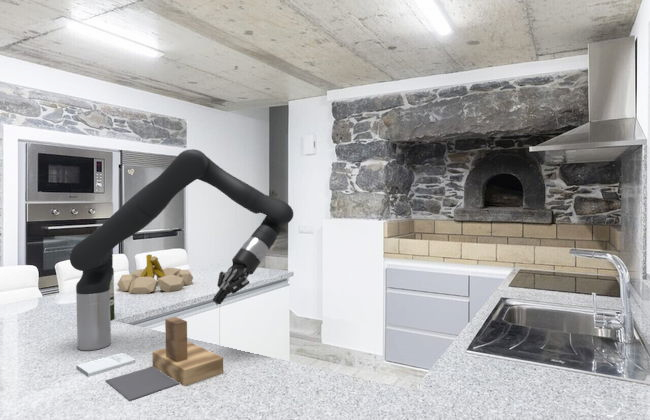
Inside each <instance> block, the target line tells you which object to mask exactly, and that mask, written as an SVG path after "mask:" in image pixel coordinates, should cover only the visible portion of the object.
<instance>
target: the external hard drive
mask: <svg viewBox="0 0 650 420" xmlns="http://www.w3.org/2000/svg"><path fill="white" fill-rule="evenodd" d="M135 363H136V359H135V358H133V357H131V356H130V355H128V354H126V353H124V352H121V353H117V354H114V355H109V356H105V357H103V358H99V359H95V360H91V361H88V362H83V363H81V364H77V365H76V366H75V368H76V370H77V371H79V372H80V373H82V374H83V375H84V376H86V377H88V378H89V377H93V376H96V375H101V374H102V373H105V372H109V371H113V370H116V369H120V368H123V367H126V366H128V365H131V364H135ZM125 365H126V366H125ZM122 366H123V367H122ZM112 369H113V370H112Z"/></svg>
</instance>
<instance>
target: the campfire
mask: <svg viewBox="0 0 650 420" xmlns="http://www.w3.org/2000/svg"><path fill="white" fill-rule="evenodd" d="M155 277H156V279H155ZM193 280H194V276H193V275H192V273H191V272H190V270H189V269H181V268H177V267H176V268H175V267H165V268H163V267H162V266H161V264H160V261H159V258H158V257H157V256H155V255H154V256H153V255H152V254H147V255H146V267H145V268H141V269H136V270H135V271H133V272H131V274H121V277H120V279H119V280H118V281H117V284H116V285H117V287H118V288H119V290H120V291H121V292H128V293H130V294H134V295H147V294H150V293H152V292H154V291H156V290H157V287H159V290H161V291H163V292H165V293H172V292H177V291H178V292H179V291H181V289H182V288H184V286H190V285H191V284H192V281H193ZM157 285H158V286H157Z"/></svg>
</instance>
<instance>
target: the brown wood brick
mask: <svg viewBox="0 0 650 420" xmlns="http://www.w3.org/2000/svg"><path fill="white" fill-rule="evenodd" d="M164 324H165V330H164V331H165V348H166V357H168V358H170V359H172V360H173V361H175V362H180V361H183V360H186V359H187V342H188V321H187V320H184V319H182V318H179V317H177V316H175V317H168V318H165V322H164Z"/></svg>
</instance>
